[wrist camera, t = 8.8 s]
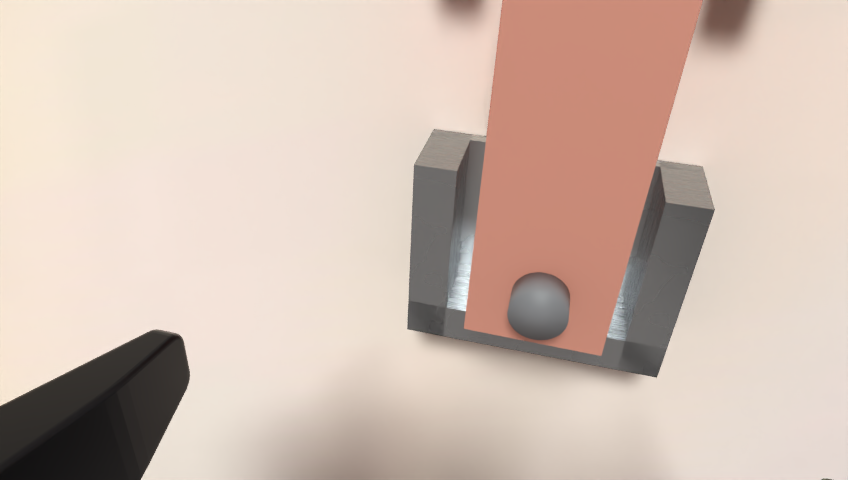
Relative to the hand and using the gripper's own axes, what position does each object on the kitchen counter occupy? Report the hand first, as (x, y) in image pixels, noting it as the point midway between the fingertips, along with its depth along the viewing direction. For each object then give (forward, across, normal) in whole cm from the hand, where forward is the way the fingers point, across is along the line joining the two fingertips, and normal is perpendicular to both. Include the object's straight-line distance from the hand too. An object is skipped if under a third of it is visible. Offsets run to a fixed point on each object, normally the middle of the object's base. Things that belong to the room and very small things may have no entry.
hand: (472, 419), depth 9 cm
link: (+11, -1, -2) cm, 12 cm away
